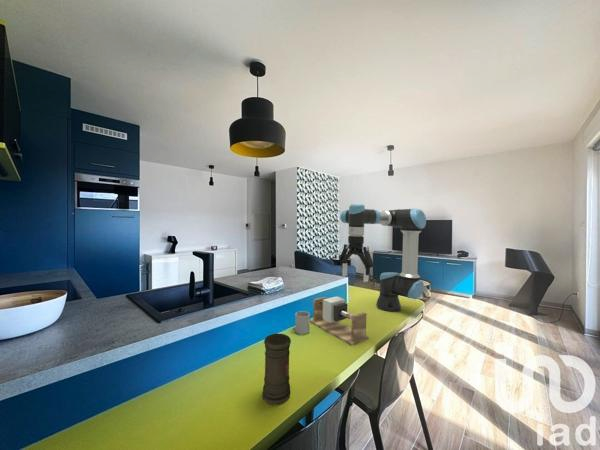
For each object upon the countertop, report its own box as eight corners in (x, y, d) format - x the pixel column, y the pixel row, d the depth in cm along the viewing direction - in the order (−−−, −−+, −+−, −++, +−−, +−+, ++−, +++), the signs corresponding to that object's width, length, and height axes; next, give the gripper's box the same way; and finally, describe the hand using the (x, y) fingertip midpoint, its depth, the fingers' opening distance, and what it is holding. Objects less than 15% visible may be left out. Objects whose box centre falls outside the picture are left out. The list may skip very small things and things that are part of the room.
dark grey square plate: (333, 320, 122) (334, 305, 122) (344, 317, 126) (344, 302, 126) (336, 321, 120) (336, 306, 120) (347, 318, 125) (347, 303, 124)
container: (266, 408, 72) (268, 348, 71) (259, 389, 80) (260, 335, 80) (294, 400, 75) (296, 343, 75) (284, 382, 83) (286, 330, 83)
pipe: (318, 305, 135) (318, 300, 135) (321, 304, 137) (322, 299, 137) (356, 323, 113) (357, 317, 113) (361, 322, 114) (361, 316, 114)
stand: (310, 322, 134) (310, 299, 133) (326, 317, 141) (326, 296, 140) (351, 345, 109) (352, 318, 109) (368, 338, 116) (369, 312, 116)
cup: (299, 335, 118) (299, 317, 117) (290, 327, 126) (290, 310, 126) (312, 333, 121) (312, 315, 121) (302, 325, 130) (302, 308, 130)
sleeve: (322, 318, 127) (323, 299, 127) (336, 314, 133) (336, 296, 132) (330, 322, 122) (330, 302, 122) (344, 318, 128) (344, 299, 128)
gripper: (332, 234, 127) (331, 274, 127) (372, 237, 107) (370, 285, 107) (342, 234, 131) (341, 273, 132) (382, 237, 111) (381, 283, 111)
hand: (354, 278), depth 119 cm, fingers open, 13 cm apart
